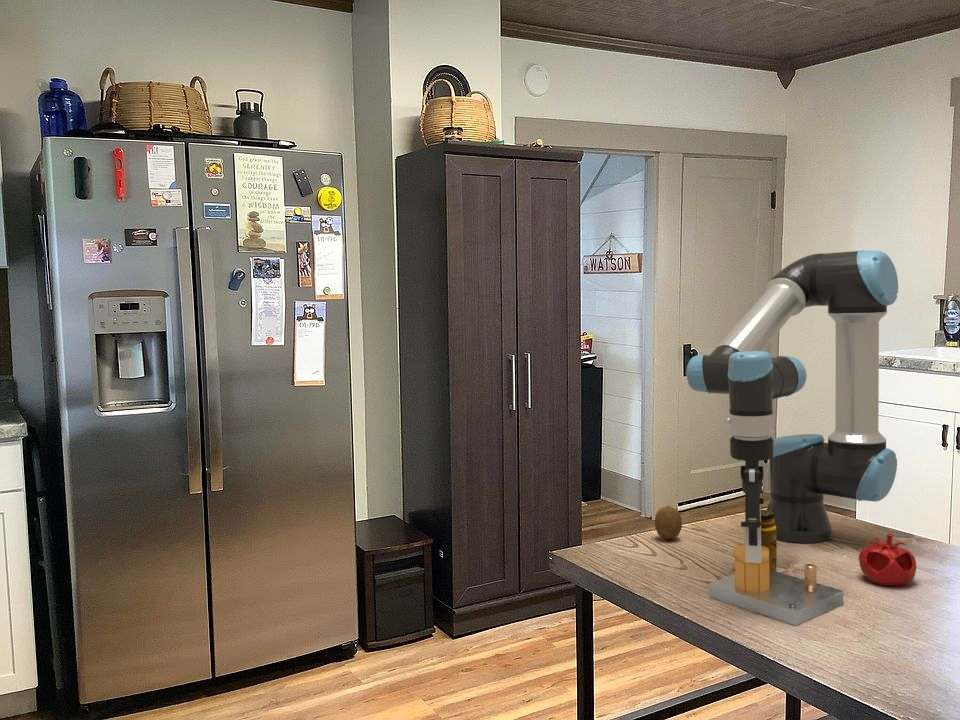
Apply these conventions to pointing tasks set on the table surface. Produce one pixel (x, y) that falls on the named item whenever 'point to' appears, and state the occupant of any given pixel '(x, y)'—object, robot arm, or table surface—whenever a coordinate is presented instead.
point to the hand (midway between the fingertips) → (753, 549)
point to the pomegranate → (887, 563)
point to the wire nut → (751, 571)
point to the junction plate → (782, 596)
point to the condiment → (769, 539)
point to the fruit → (668, 522)
